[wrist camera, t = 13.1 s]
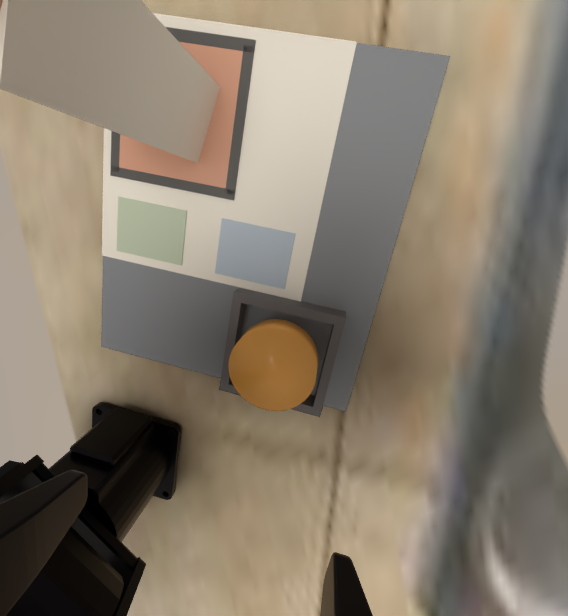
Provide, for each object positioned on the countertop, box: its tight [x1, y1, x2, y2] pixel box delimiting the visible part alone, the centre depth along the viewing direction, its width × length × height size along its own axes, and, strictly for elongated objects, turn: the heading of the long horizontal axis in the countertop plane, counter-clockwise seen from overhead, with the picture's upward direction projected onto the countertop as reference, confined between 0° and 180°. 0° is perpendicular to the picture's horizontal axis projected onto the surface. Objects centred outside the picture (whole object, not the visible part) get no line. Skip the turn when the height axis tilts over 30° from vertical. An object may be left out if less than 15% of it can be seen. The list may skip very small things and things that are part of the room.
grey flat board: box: [101, 13, 450, 417], centre depth 17 cm, size 18×16×2 cm
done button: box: [228, 319, 318, 411], centre depth 16 cm, size 4×4×2 cm
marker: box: [0, 0, 220, 163], centre depth 10 cm, size 4×4×12 cm
